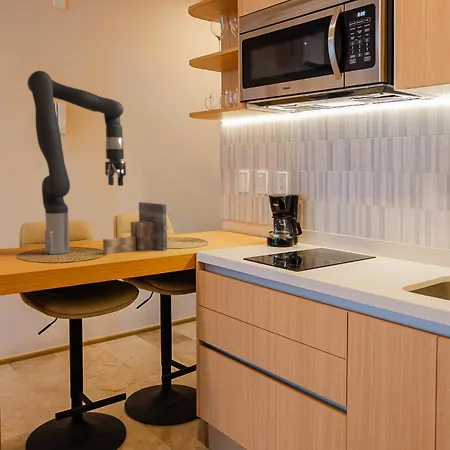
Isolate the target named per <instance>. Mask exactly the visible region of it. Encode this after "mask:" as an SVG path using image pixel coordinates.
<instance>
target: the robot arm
mask: <svg viewBox="0 0 450 450" xmlns="http://www.w3.org/2000/svg"><path fill="white" fill-rule="evenodd" d="M27 88H28V90H29V91H30V92H31V95H32V99H33V102H34V107H35V132H36V140H37V143H38V146H39V150H40V152H41V154H42V155H43V157H44V159H45V161H46V165H47V169H48V174H49V175H46V177H44V178H43V180H42V183H41V193H42V195H41V196H42V204H43V207H44V211H45V213H44V214H45V230H44V246H45V247H44V248H45V249H44V252H45V254H48V253H49V254H48V255H64V254H68V253H70V249H71V248H70V229H69V208H68V207H69V206H68V205H67V203H66V202H65V200H64V197H65V196H66V195H68V193H69V191H70V189H71V183H70V178H69V175H68V170H67V168H66V167H67V166H66V164H65V158H64V157H65V156H64V152H63V145H62V144H63V143H62V137H61V132H60V125H59V121H58V116H57V112H56V109H55V105H54V104H55V102H54V99H56V100H60V101H63V102H66V103H69V104H72V105H74V106H77V107H80V108H83V109H86V110H88V111H91V112H95V113H101V114H103V117H104V118H103V119H104V123H105V158H106V159H107V160H108V161H105V162H104V164H105V165H104V169H105V171H104V172H105V173H104V174H105V176H107V178H108V184H107V185H108V186H114V184H115V183H114V182H115V181H114V178H115V177H114V175H115V173H116V175H117V186H118V187H122V186H124V176H126V175H127V169H126V167H127V165H126V161H122V160H123V159H124V157H125V156H124V155H125V154H124V139H123V137H124V136H123V126H122V125H121V119H120V118H121V116H122V115H123V113H124V106H123V104H122V103H120V102H119V101H117V100H114V99H111V98H107V97H103V96H100V95H98V94H95V93H92V92H89V91H87V90H83V89H79V88H75V87H71V86H68V85H64V84H62V83H59V82H58V81H56V80H54V79H52V77H51V76H50V74H48V73H47V72H45V71H44V70H35V71H34V72H33V73H31V74H30V76H29V77H28V79H27Z"/></svg>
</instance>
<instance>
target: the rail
mask: <svg viewBox="0 0 450 450" xmlns="http://www.w3.org/2000/svg"><path fill="white" fill-rule="evenodd" d="M102 246H103V247H102V249H103V250H102V252H103V254H105V255H111V254H119V253H126V252H135V251H138V250H137V236H131V235H129V236H123V237H122V236H121V237H112V238H111V237H110V238H103V239H102Z"/></svg>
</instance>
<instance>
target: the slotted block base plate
mask: <svg viewBox="0 0 450 450" xmlns="http://www.w3.org/2000/svg"><path fill="white" fill-rule="evenodd" d="M167 228H168V227H167V204H165V203H153V202H146V201H145V202H144V201H141V202H140V201H139V202H138V221H130V236H137V250H136V251H137V252H138V251H139V252H143V251H144V252H145V251H153V250H159V251H168V238H167V237H168V235H167V234H168V233H167V231H168V230H167Z"/></svg>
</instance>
